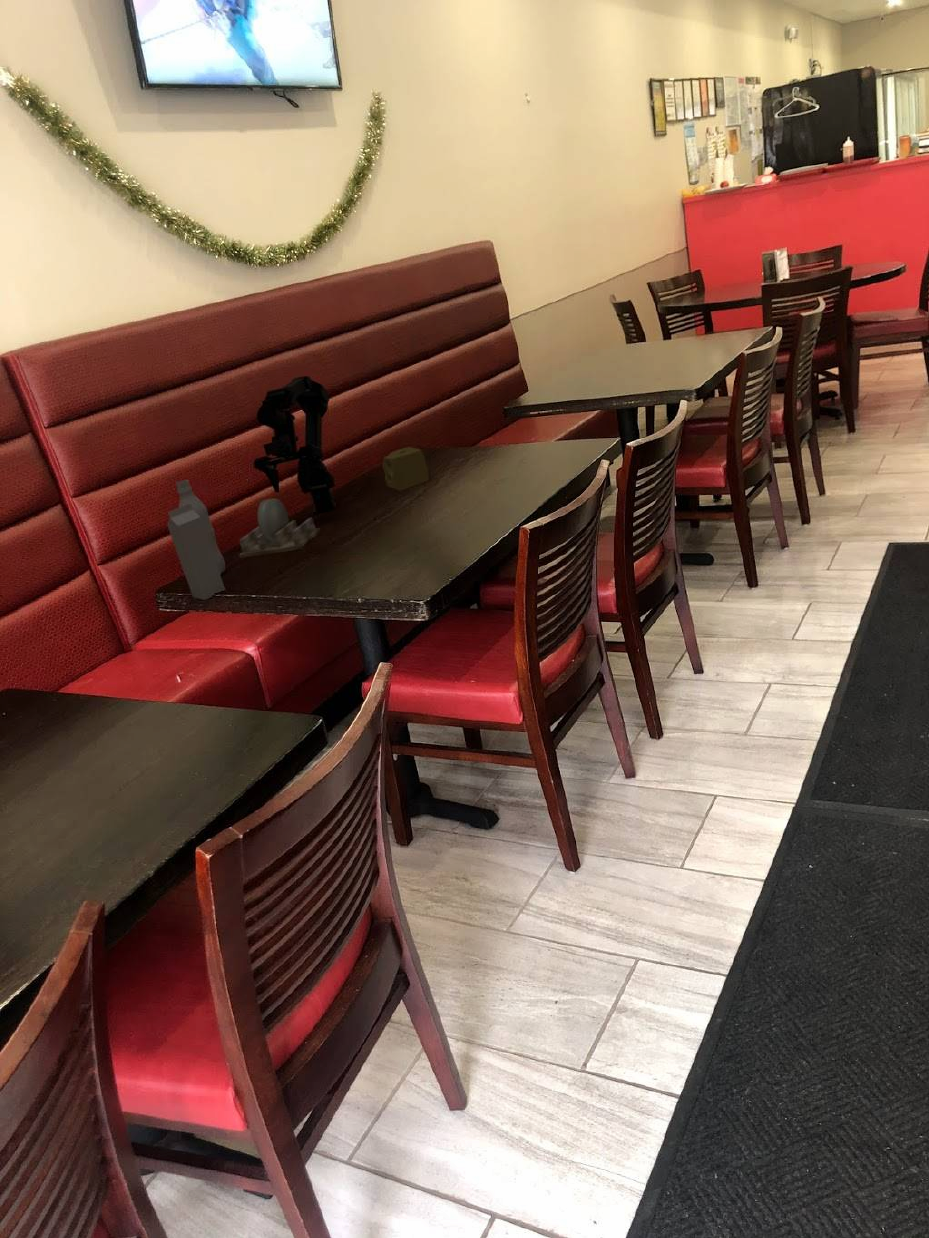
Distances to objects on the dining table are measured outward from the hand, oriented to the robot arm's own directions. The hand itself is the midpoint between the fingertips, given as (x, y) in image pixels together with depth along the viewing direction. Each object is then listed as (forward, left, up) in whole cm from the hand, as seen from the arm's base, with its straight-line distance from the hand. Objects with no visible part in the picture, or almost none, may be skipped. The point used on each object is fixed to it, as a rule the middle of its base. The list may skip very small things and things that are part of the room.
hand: (291, 489), depth 270 cm
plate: (+10, -5, -11) cm, 15 cm away
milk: (+41, -17, -12) cm, 46 cm away
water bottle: (+25, -20, -12) cm, 34 cm away
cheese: (-27, +28, -12) cm, 41 cm away
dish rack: (+10, -5, -12) cm, 16 cm away
